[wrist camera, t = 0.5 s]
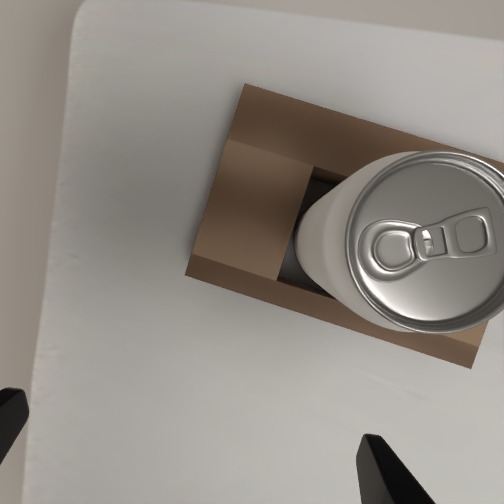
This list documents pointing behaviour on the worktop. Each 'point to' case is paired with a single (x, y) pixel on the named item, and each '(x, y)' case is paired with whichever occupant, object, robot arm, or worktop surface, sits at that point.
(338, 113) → the socket block
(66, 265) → the worktop surface
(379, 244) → the can
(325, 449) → the worktop surface
